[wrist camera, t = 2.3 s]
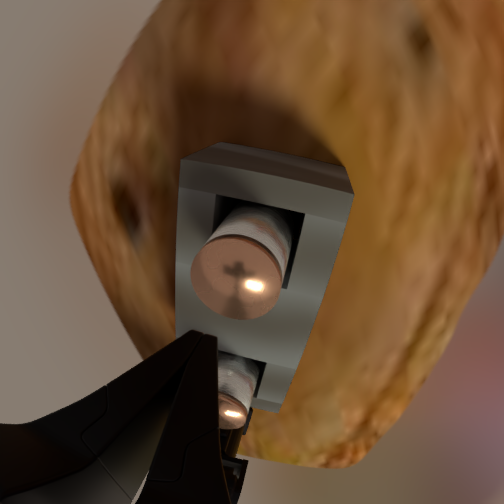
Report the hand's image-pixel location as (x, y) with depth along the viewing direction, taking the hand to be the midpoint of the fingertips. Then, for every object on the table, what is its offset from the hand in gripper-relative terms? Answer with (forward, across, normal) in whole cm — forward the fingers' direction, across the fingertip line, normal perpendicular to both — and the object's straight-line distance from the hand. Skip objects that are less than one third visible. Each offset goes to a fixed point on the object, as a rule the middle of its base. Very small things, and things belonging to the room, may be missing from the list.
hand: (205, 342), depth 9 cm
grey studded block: (+13, 0, +5) cm, 14 cm away
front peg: (+9, 0, 0) cm, 9 cm away
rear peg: (+9, 0, +10) cm, 14 cm away
